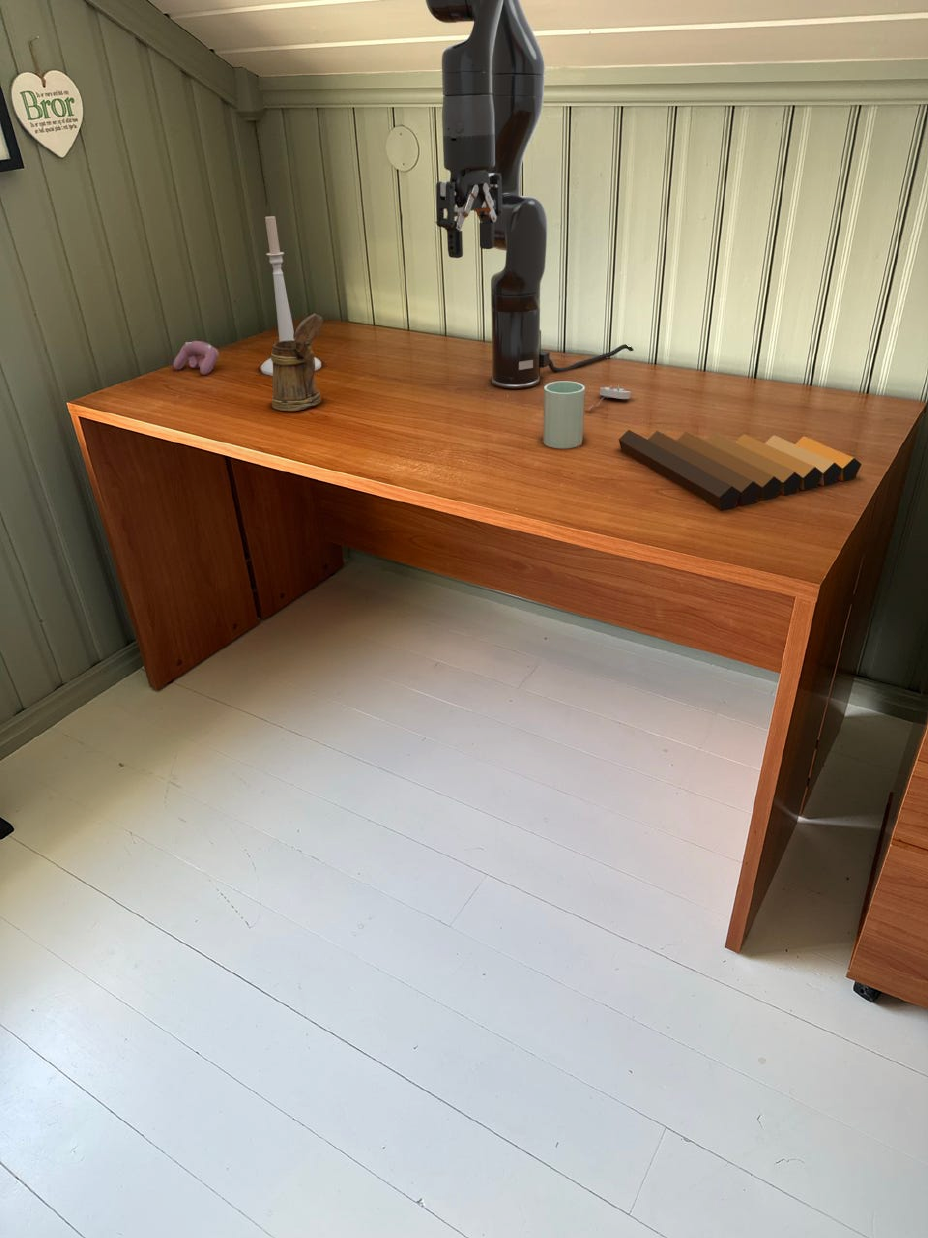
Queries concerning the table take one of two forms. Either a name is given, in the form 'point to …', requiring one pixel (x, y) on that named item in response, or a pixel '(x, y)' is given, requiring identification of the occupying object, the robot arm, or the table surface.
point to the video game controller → (197, 356)
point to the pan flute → (740, 465)
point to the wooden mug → (296, 368)
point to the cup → (563, 414)
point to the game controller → (614, 393)
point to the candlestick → (279, 293)
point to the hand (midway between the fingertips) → (471, 252)
